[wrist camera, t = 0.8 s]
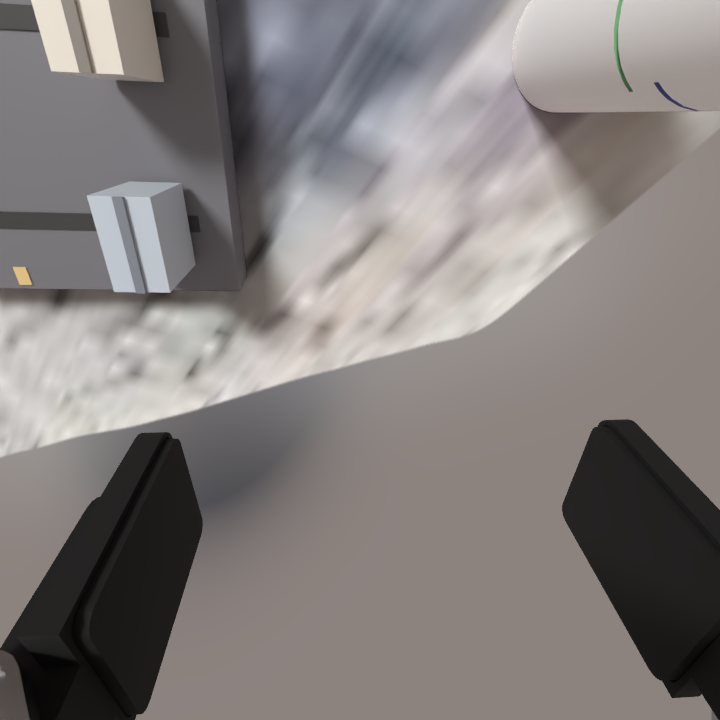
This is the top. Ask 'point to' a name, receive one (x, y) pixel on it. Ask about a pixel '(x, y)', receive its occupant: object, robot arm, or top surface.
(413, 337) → the top surface
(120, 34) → the cream fader
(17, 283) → the fader console
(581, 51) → the cylindrical container
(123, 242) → the grey fader
